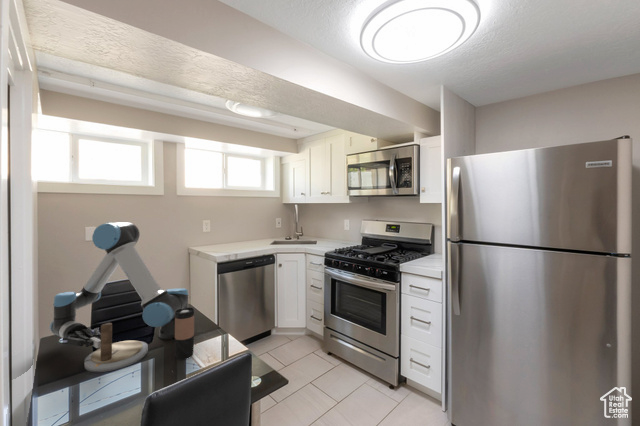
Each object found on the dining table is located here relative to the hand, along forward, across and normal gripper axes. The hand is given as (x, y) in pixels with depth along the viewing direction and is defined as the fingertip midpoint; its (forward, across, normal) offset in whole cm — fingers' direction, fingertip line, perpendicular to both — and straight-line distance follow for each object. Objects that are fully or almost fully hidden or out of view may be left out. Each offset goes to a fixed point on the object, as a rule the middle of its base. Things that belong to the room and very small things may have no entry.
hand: (99, 344), depth 110 cm
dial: (-2, -8, -7) cm, 11 cm away
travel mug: (+21, -23, -9) cm, 33 cm away
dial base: (-2, -8, -9) cm, 12 cm away
